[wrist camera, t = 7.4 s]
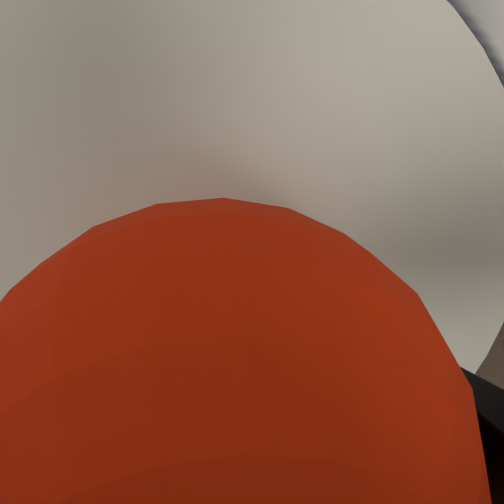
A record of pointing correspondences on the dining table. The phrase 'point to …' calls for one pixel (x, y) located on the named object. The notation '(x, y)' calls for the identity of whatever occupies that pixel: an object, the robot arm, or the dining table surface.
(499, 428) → the robot arm
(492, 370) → the dining table surface
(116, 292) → the clementine
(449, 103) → the cream plate
